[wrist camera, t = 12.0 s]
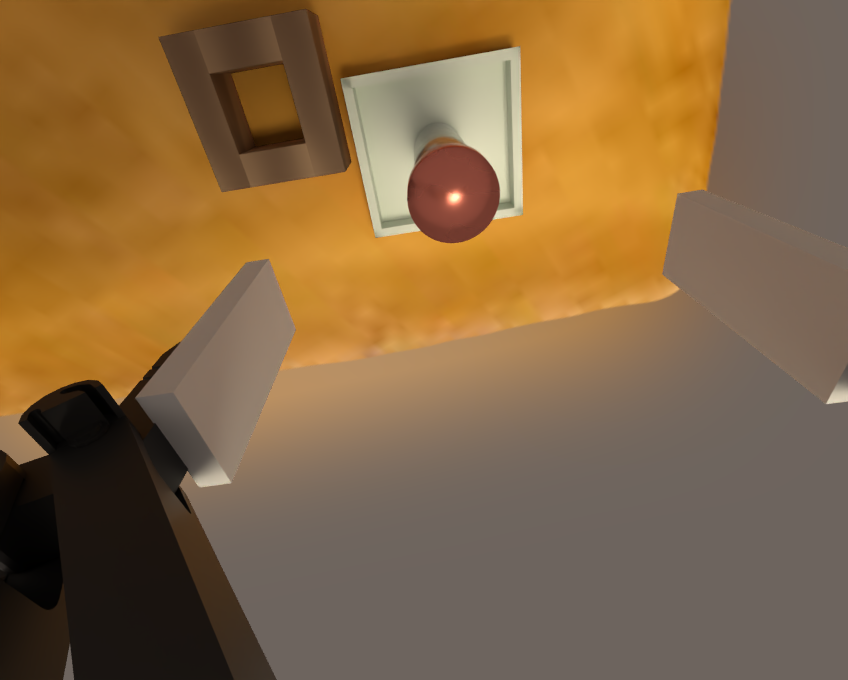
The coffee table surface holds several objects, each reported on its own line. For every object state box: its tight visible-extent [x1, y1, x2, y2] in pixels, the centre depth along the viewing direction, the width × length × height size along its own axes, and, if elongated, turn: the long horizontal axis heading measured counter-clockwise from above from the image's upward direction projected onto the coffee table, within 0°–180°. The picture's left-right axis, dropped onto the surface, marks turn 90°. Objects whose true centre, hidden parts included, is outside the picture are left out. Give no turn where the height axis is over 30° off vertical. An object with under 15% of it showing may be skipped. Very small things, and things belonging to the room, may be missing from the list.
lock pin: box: [407, 122, 500, 243], centre depth 28 cm, size 5×5×16 cm
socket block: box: [159, 9, 351, 192], centre depth 31 cm, size 10×10×4 cm
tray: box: [341, 46, 523, 238], centre depth 34 cm, size 13×12×3 cm
